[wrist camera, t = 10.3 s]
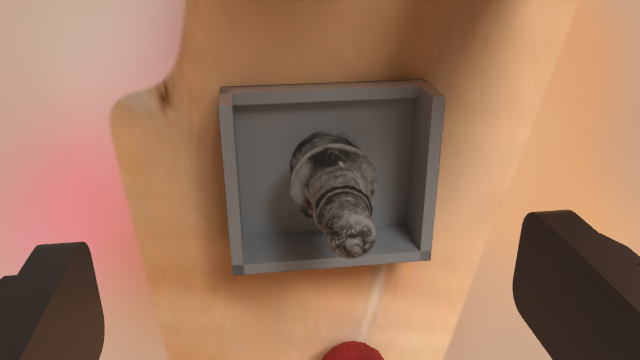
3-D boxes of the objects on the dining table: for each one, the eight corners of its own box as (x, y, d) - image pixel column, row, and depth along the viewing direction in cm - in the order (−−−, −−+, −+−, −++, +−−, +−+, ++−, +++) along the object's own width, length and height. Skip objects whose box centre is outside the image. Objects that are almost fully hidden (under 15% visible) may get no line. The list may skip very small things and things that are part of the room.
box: (220, 86, 37) (218, 106, 33) (423, 79, 38) (445, 96, 34) (233, 241, 42) (232, 275, 38) (412, 229, 43) (430, 260, 39)
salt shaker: (332, 215, 41) (363, 316, 30) (269, 173, 39) (278, 266, 28) (383, 156, 40) (435, 240, 29) (320, 109, 38) (350, 181, 27)
